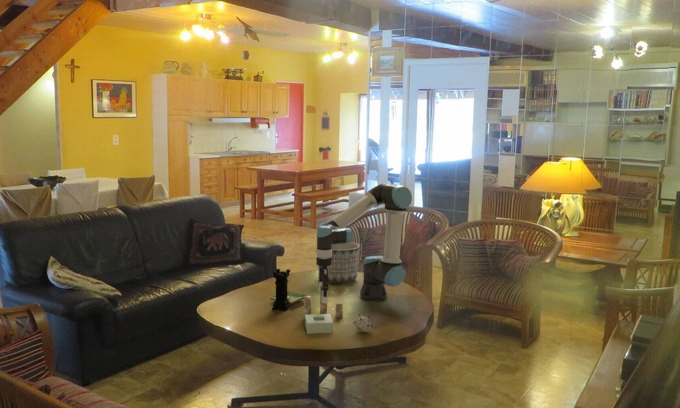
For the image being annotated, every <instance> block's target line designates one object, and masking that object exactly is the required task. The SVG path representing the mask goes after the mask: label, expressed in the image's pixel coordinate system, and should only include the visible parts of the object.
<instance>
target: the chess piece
mask: <svg viewBox="0 0 680 408" xmlns="http://www.w3.org/2000/svg"><path fill="white" fill-rule="evenodd" d="M290 272H291V269H286V270H285V271H282V270H281V269H280V268H276V270H275V271H274V270H273V272H272V275H273V279H275V282H274V284H275V300H274V301H273V305H272V307H271V310H273V311H282V312H284V311H285V312H287V311H288V310H289V309H290V308H291V307H292V304H291V301H290V299H289V298H288V283H289V279H288V277H290Z"/></svg>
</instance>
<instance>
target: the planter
mask: <svg viewBox="0 0 680 408" xmlns="http://www.w3.org/2000/svg"><path fill="white" fill-rule="evenodd" d="M360 248H361V245H360V244H359V243H357V242H354V241H351V242H349V243H343V244H333V245H332V257H331V258H332V261H331V265H330V266H327V269H328V283H330V282H331V283H332V284H345V283H346V284H347V283H349V282H350V281H354V280H356V279H357V278H358V272H359V260H360V259H359V258H360ZM319 268H320V266H318V265H317V270H318V273H319ZM331 283H330V284H331Z"/></svg>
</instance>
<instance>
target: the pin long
mask: <svg viewBox="0 0 680 408" xmlns="http://www.w3.org/2000/svg"><path fill="white" fill-rule="evenodd" d="M324 288H326V287H324ZM321 289H323V287H322V286H320V295H319V314H328V303H322V290H321Z"/></svg>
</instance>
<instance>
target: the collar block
mask: <svg viewBox="0 0 680 408" xmlns="http://www.w3.org/2000/svg"><path fill="white" fill-rule="evenodd" d="M333 321H334V320H333V319H332V316H331V313H327V314H320V313H318V314H317V313H315V314H313V313H311V315H305V319H304V325H305V329H306V333H307V335H308V334H309V335H311V334H312V335H313V334H331V333H334V322H333Z"/></svg>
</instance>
